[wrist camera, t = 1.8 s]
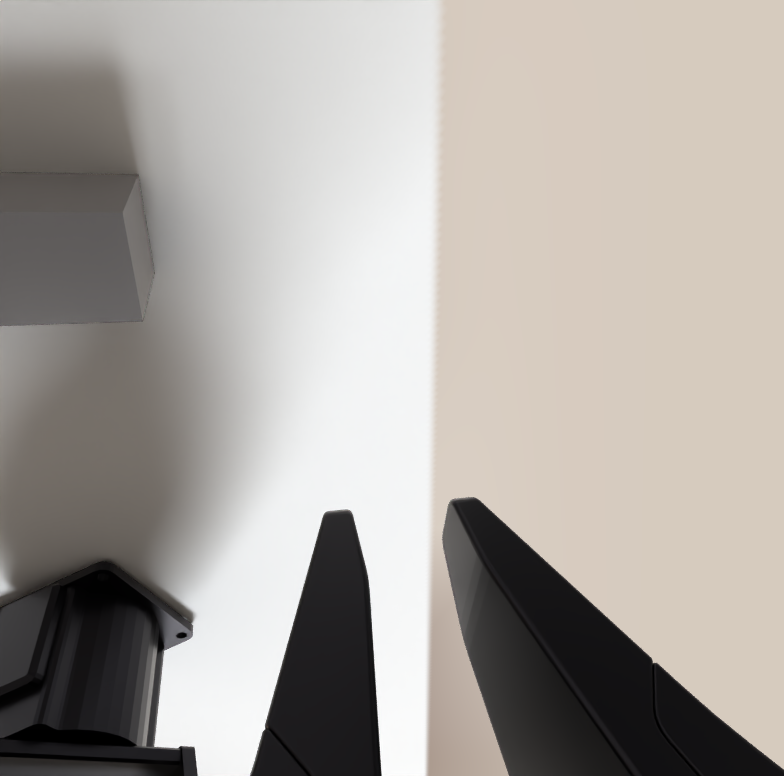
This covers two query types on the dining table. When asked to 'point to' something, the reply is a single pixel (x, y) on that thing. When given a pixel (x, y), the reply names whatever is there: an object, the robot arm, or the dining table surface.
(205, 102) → the dining table surface
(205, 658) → the dining table surface
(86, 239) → the plug
